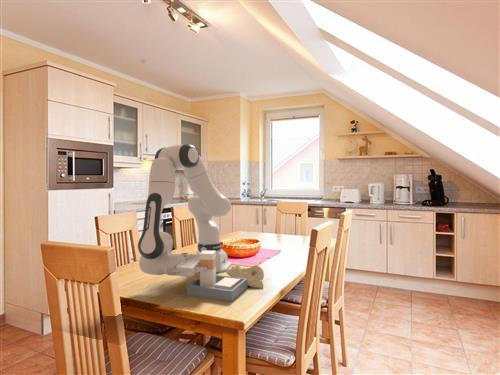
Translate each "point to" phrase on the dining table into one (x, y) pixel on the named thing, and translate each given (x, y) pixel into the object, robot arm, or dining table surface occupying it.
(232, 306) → the dining table surface
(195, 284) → the tote
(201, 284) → the juice carton
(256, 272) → the beige rock
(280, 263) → the dining table surface
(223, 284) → the white rectangular block
